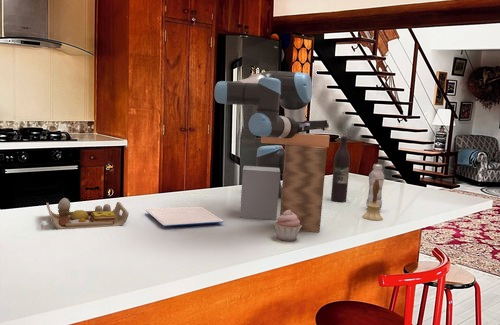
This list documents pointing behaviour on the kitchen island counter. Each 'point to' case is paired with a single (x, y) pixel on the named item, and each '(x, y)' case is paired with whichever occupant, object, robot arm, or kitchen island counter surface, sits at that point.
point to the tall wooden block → (304, 184)
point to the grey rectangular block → (259, 192)
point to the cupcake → (287, 226)
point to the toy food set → (87, 216)
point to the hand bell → (373, 205)
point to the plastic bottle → (373, 176)
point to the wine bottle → (340, 173)
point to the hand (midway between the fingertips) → (314, 130)
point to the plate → (183, 216)
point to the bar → (300, 140)
